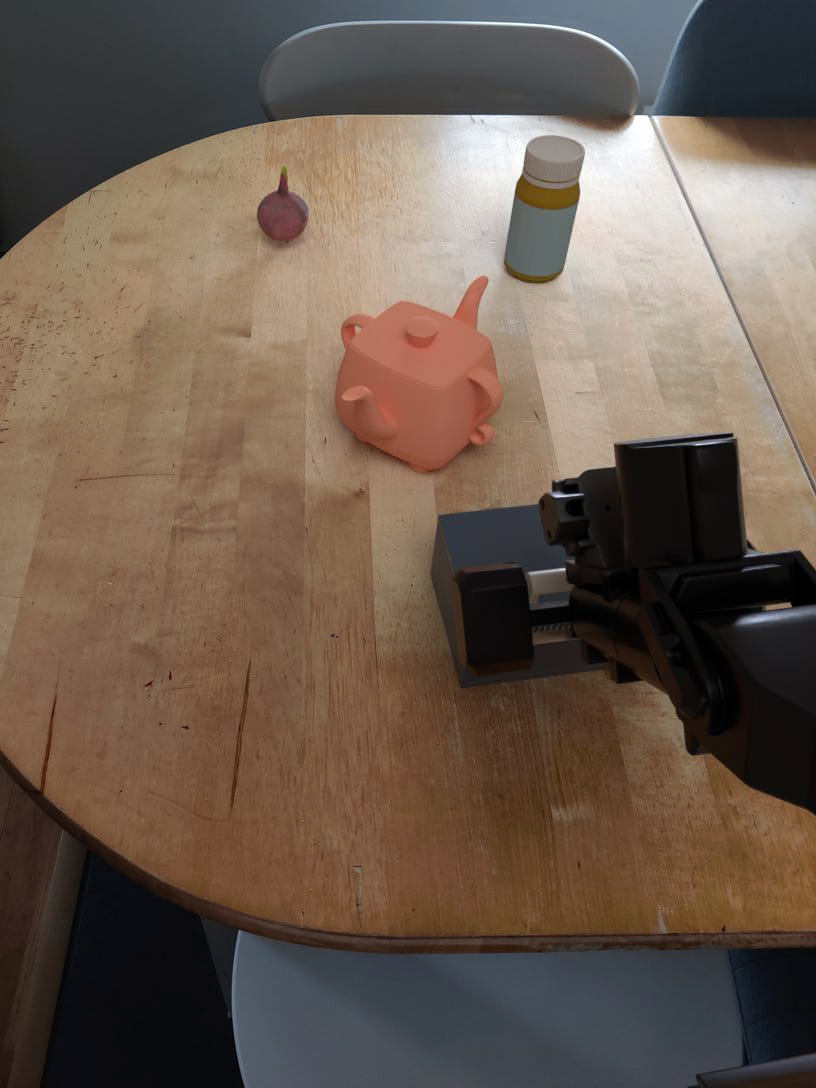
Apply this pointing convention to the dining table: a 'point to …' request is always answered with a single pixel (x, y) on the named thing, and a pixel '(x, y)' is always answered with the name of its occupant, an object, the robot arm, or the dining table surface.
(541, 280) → the bottle
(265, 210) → the vegetable
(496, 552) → the lid
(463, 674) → the box
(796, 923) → the dining table surface
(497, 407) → the teapot
